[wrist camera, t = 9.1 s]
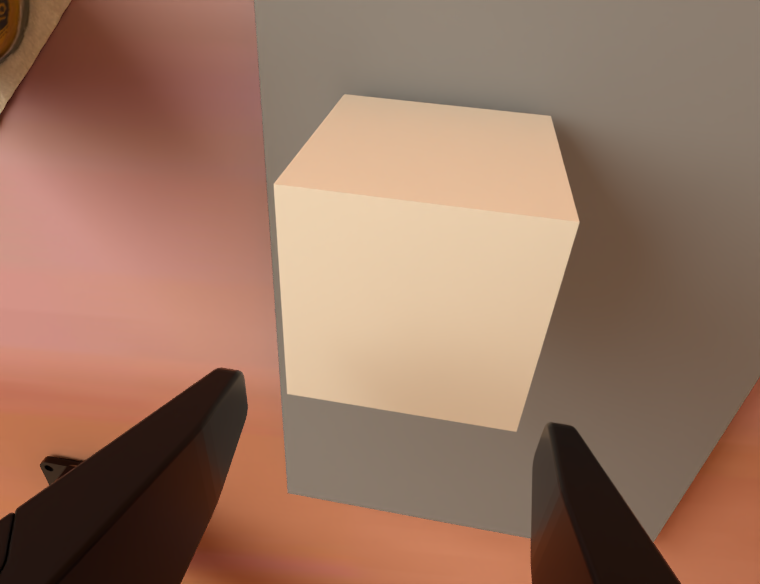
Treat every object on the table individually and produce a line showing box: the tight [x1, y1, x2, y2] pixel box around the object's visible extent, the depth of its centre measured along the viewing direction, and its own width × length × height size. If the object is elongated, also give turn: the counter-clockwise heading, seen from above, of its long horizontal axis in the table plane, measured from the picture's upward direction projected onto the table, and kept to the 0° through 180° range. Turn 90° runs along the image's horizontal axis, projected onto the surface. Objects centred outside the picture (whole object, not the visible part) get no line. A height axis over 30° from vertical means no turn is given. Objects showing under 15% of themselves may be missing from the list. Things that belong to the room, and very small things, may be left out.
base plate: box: [254, 0, 760, 542], centre depth 19 cm, size 22×16×2 cm
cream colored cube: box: [274, 94, 579, 432], centre depth 13 cm, size 5×5×6 cm
